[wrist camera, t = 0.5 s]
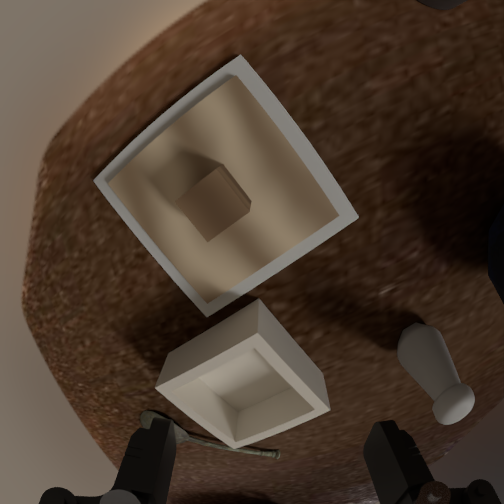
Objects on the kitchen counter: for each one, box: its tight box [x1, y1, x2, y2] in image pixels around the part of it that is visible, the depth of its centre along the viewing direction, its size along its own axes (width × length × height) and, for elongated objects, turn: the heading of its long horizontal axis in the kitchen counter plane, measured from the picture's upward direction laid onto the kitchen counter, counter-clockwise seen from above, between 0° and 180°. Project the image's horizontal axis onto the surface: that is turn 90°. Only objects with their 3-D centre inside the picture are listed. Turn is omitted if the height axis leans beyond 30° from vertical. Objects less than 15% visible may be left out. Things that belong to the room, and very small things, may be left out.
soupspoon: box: [140, 411, 280, 459], centre depth 40 cm, size 22×3×7 cm
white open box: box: [155, 299, 330, 449], centre depth 32 cm, size 13×13×6 cm
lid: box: [108, 75, 339, 304], centre depth 25 cm, size 15×15×5 cm
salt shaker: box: [397, 323, 475, 425], centre depth 27 cm, size 6×6×13 cm
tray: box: [93, 55, 359, 317], centre depth 28 cm, size 18×18×1 cm
